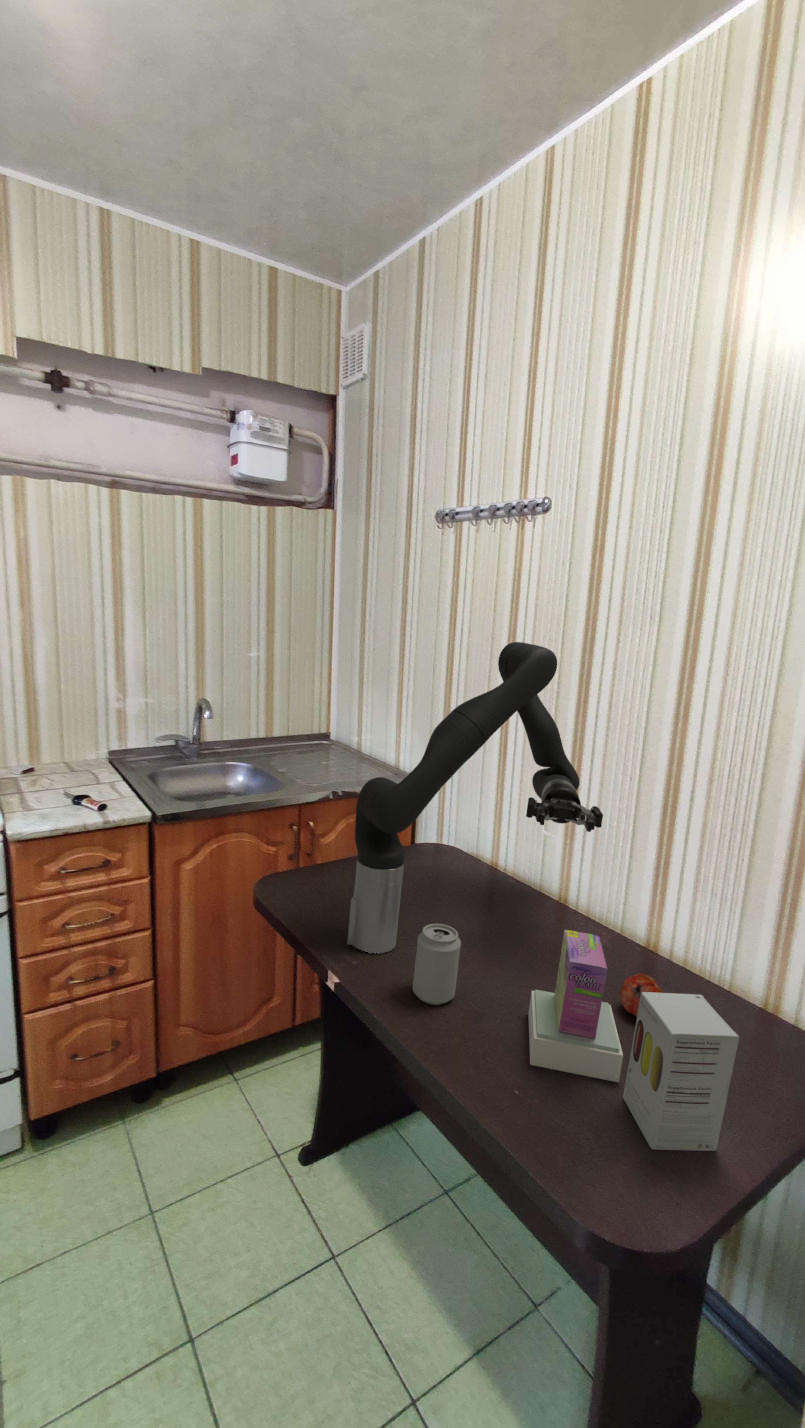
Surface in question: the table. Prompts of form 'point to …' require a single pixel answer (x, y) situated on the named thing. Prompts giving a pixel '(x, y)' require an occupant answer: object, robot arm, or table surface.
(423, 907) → the table surface
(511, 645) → the robot arm
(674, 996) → the supplement box
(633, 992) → the pomegranate
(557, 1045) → the podium
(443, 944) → the can
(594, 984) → the box
